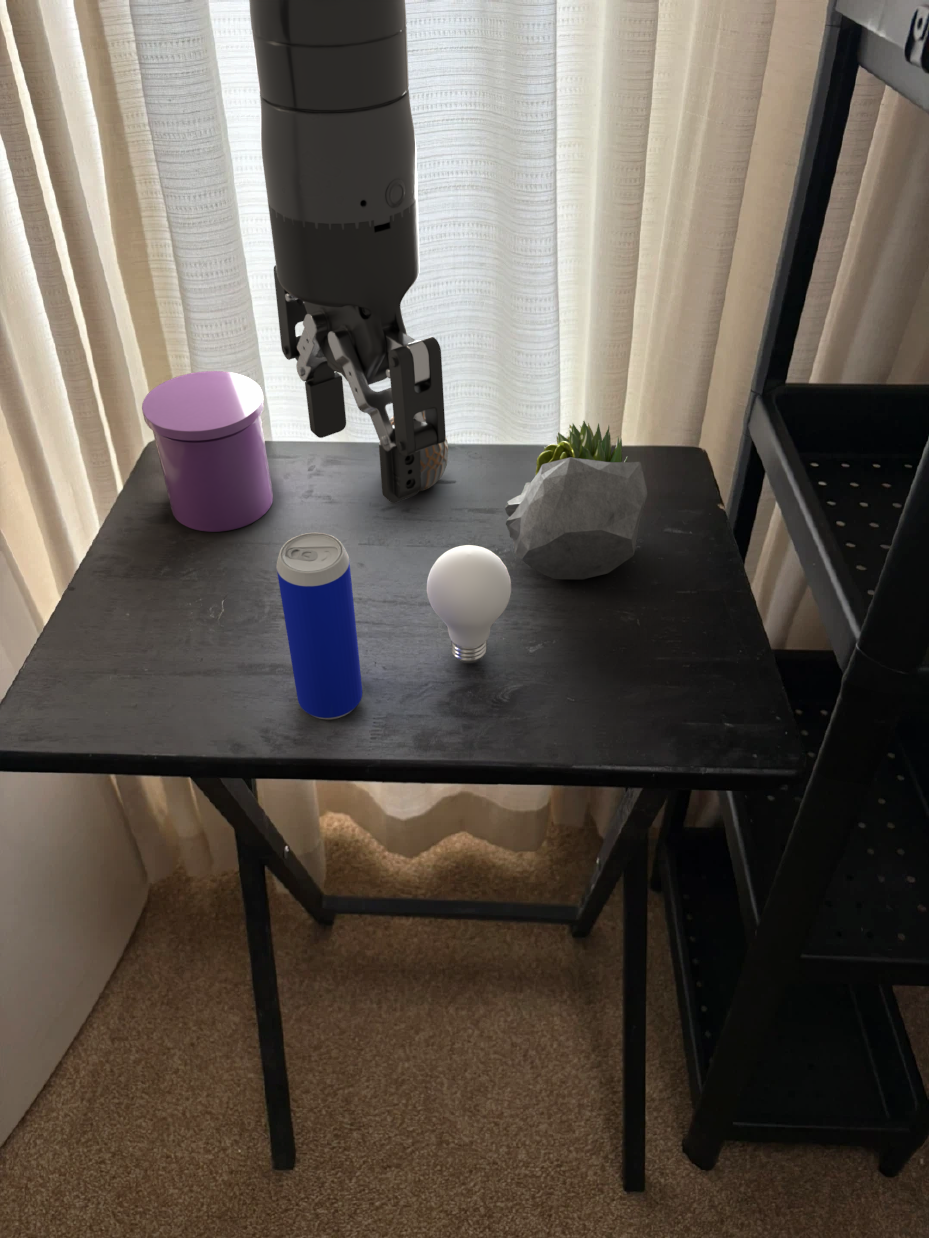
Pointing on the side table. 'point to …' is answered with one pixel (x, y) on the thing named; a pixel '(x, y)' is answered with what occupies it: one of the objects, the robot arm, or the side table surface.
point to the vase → (431, 461)
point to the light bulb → (468, 597)
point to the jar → (211, 448)
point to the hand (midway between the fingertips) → (364, 463)
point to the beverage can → (320, 624)
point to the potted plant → (578, 507)
